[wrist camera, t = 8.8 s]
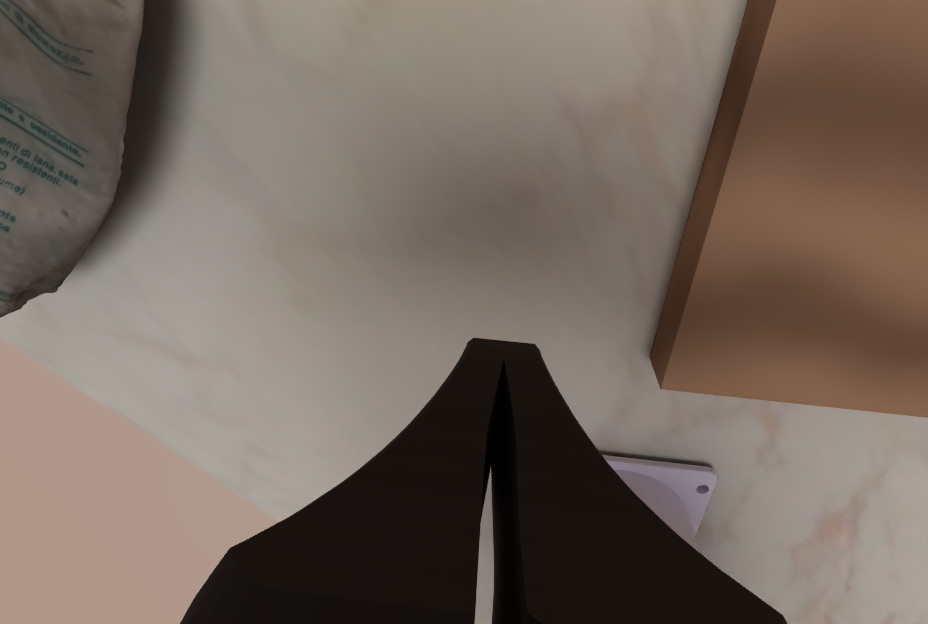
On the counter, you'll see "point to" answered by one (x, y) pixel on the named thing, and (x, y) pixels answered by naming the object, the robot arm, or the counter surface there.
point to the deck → (811, 216)
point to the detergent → (59, 133)
